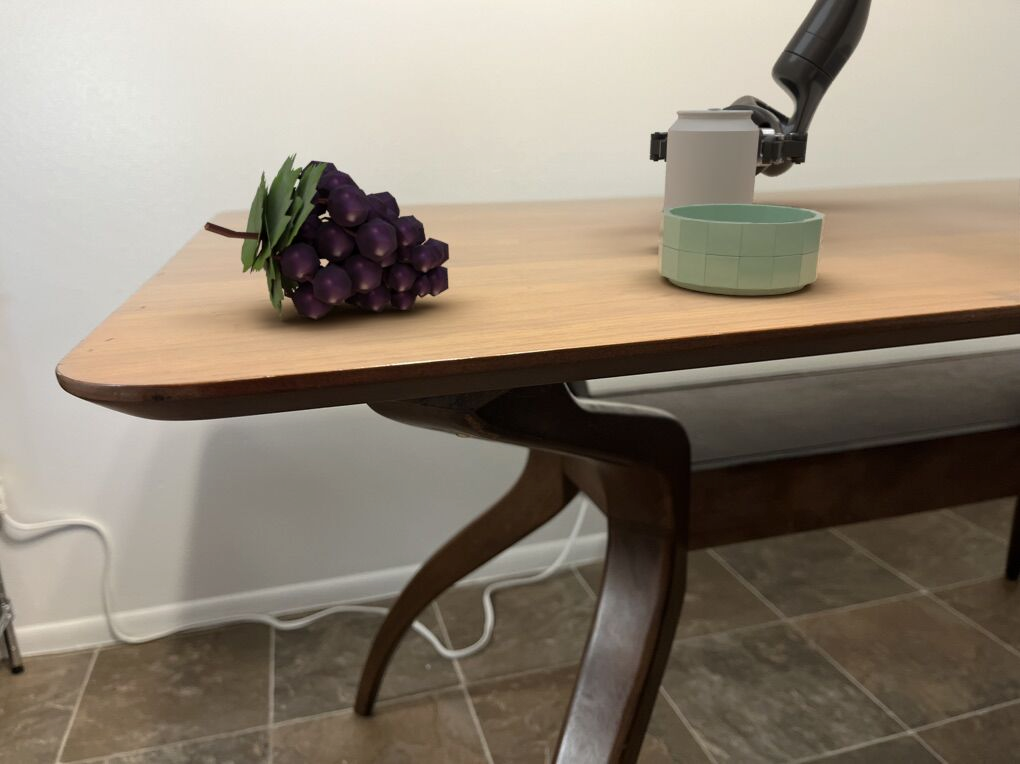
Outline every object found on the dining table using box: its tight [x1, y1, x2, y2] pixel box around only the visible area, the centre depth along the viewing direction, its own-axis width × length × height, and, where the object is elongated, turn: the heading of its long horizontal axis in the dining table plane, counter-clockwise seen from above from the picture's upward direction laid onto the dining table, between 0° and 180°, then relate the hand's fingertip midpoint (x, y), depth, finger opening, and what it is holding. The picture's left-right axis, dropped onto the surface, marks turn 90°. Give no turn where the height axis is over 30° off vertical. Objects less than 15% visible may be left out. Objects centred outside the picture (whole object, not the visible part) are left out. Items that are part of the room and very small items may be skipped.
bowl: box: [657, 203, 826, 297], centre depth 59 cm, size 11×11×5 cm
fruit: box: [203, 152, 450, 321], centre depth 51 cm, size 10×11×15 cm
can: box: [663, 107, 759, 210], centre depth 70 cm, size 8×8×12 cm
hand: (716, 150), depth 71 cm, fingers open, 8 cm apart
